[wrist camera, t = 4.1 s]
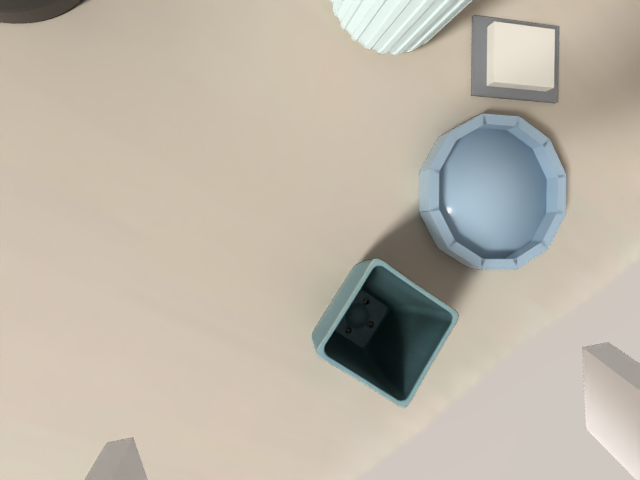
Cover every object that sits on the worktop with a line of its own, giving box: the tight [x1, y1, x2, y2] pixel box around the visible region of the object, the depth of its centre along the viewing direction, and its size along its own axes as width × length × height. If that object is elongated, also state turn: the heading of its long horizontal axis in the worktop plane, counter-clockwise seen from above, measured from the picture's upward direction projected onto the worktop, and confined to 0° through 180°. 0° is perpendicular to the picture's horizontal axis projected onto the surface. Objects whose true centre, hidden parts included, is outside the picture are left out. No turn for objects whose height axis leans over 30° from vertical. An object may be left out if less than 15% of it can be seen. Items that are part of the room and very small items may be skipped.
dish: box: [419, 114, 566, 269], centre depth 45 cm, size 15×15×2 cm
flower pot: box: [312, 258, 459, 408], centre depth 39 cm, size 9×9×9 cm
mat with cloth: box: [471, 15, 559, 103], centre depth 46 cm, size 10×8×2 cm
